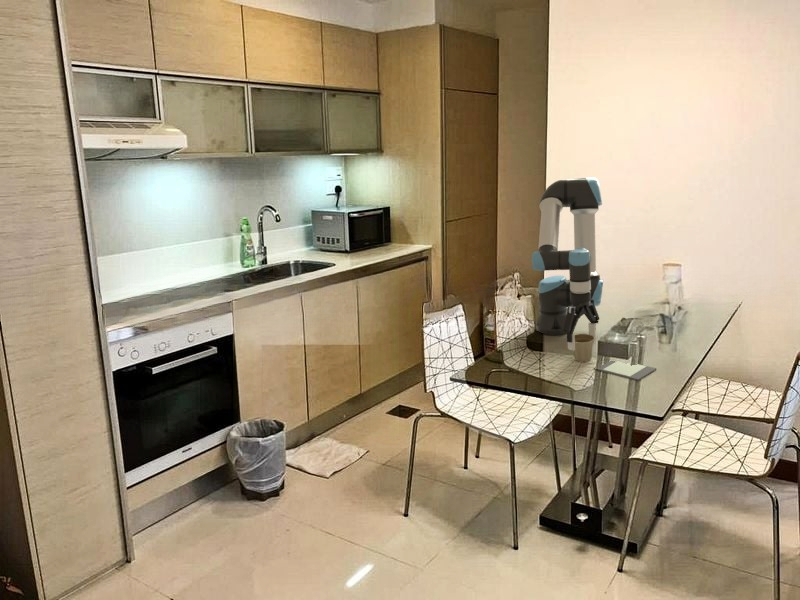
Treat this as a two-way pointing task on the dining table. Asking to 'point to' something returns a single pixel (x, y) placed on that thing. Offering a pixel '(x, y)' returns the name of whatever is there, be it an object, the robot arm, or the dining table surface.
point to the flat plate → (627, 370)
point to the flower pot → (583, 347)
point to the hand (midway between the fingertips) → (582, 344)
